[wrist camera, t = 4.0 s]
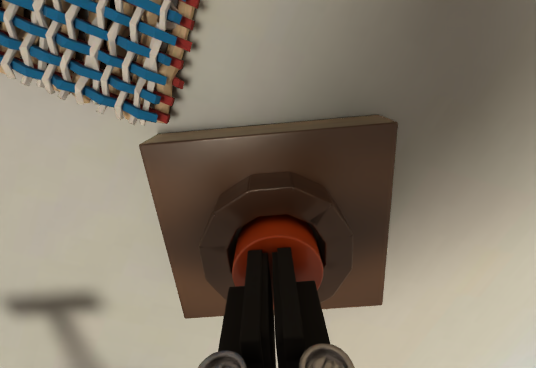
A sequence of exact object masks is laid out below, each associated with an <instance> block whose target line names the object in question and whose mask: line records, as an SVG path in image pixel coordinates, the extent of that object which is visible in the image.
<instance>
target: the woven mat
mask: <svg viewBox="0 0 536 368" xmlns="http://www.w3.org/2000/svg"><path fill="white" fill-rule="evenodd" d="M171 1H172V0H115V7H116V10H114V9H111V8H109V5H110V0H2V8H0V21H1V30H0V72H1V73H4V74H6V75H7V77H8V78H12V79H16V78H15V75H14V73H13V70H12V69H14V70H16V71H17V72H19V73H21V74H23V78H22V80H21V83H22V84H24V85H27V86H29V85H30V83H31V81H32V79H33V78H35V79H37V86H39V87H45V88H46V90H47V92H49V93H50V94H53V93H55V91H54V90H56V91H59V92H60V93H59V94H58V97H59V98H60V99H63V100H65V99H66V98H67V96H68V94H70V92H72V94H73V95H74V96H75V98H76V101H77V104H82V105H84V103H90V100H91V99H92V102H93V103H94V104H100V105H99V107H98V108H97V110H96V111H97V112H99V113H101V114H103V113H104V111H105V109H106V107H107V106H109V107H114V108H115V113H116V117H117V118H118V119H120V120H121V119H123V115H124V117H125V118H126V119H127V120H129V121H128V122H129V123H131V124H133V125H135V123H136V121H137V119H140V124H142V125H145V122H146V120H147V121H151V122H155V123H156V122H160V123H166V124H167V123H168V122H169V119H170V115H168V113H169V108H170V106H172V105H173V103H174V100H175V98H173V97H172V85H173V86H175V87H177V88H180V89H183V85H184V81H182V80H181V79H179V78H177V77H176V76H175V75H176V74H177V72H178V70H179V69H182V68H183V64H184V61H183V60H182V57H183V53H184V50H186V51H189V52H190V49H191V45H192V42H190V41H187V37H188V33H189V29H190V30H193V27H194V23H195V21H193V20H192V18H193V14H194V10H195V8H197V9H198V6H199V2H200V0H178V4H177V8H176V7H175V6H174V5H173V3H172V2H171ZM53 5H54V7H53ZM24 8H26V9H28V10H31V15H30V19H27V18H25V17H24ZM80 8H83V9H86V10H88V11H89V16H88V21H86V20H83V19H81V18H78V16H77V14H78V12H79V10H80ZM169 8H170V9H171V10H169ZM107 18H108V19H110V20H112V23H111V24H110V26H109V27H108V29H106V25H107ZM141 18H142V21H140V19H141ZM52 20H53V21H52ZM166 20H169V21H171V22H166ZM51 21H52V23H51ZM165 29H172V30H171V33H168V32H166V31H165ZM79 30H81V31H83V32H85V33H86V39H85V41H82V40H80V39H78V31H79ZM137 31H139V32H141V33H142V36H141V41H140V43H139V42H138V32H137ZM129 34H130V37H128V35H129ZM104 40H106V41H107V47H108V51H107V50H105V49H103V44H104ZM162 42H165V43H168V47H167V51H166V53H163V52H161V51H159V49H160V47H161V44H162ZM56 43H57V45H56ZM48 46H49V47H48ZM126 50H128V52H126ZM76 52H79V53H83V61H82V62H81V61H79V60H76V59H75V53H76ZM136 54H138V56H137V61H136V62H134V61H132V60H133V58H134V57H135V55H136ZM20 55H21V57H22V58H23V59H20ZM157 61H158V62H160V63H162V64H161V66H160V68H159V70H157ZM101 62H103V63H105V64H107V66H106V68H105V70H102V69H100V63H101ZM47 63H49V64H48V66H47ZM46 67H47V68H46ZM129 71H130V72H132V73H133V74H134V75H133V80H132V81H130V72H129ZM73 72H75V73H74V74H73ZM72 75H73V76H72ZM100 82H101V87H102V88H101V87H100ZM52 84H53V85H52ZM154 87H155V90H156V91H155V90H154ZM128 93H130V95H129V99H126V97H127V95H128ZM150 103H153V104H155V106H154V109H153V108H150V107H149V106H150Z"/></svg>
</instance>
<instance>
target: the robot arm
mask: <svg viewBox="0 0 536 368" xmlns="http://www.w3.org/2000/svg"><path fill="white" fill-rule="evenodd" d="M272 267H273V292H274V310H273V299H272V289H271V280H270V270H269V261H268V253H262V249H261V250H249V251H248V255H247V266H246V276H245V286H235V287H229V290H228V296H227V302H226V308H225V313H224V319H223V325H222V331H221V337H220V343H219V349H218V352H216V353H213V354H211V355H210V356H208V357H207V358H205V360H204V361H203V362H202V363H201V364H200V365H199V367H198V368H276V359H275V337H276V349H277V358H278V368H355V367H354V365H353V363H352V361H351V360H350V358H349V356H348V355H347V354H346V353H345V352H344V351H343V350H342V349H340V348H338V347H336V346H334V345H331V344H330V341H329V337H328V333H327V329H326V325H325V320H324V316H323V312H322V308H321V304H320V300H319V296H318V292H317V287H316V284H315V281H314V280H313V281H300V282H296V278H295V272H294V265H293V258H292V252H291V247H286V248H277V252H272ZM274 316H275V332H274Z"/></svg>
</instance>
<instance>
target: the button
mask: <svg viewBox="0 0 536 368" xmlns="http://www.w3.org/2000/svg"><path fill="white" fill-rule="evenodd" d="M286 247H291V252H292V258H293V265H294V272H295V278H296V282H300V281H313V280H314V281H315V284H316V287H317V290H318V289H319V287H320V285H321V282H322V279H323V272H324V270H323V264H322V260H321V257H320V253H319V250H318V246H317V243H316V239H315V236H314V233H313V231H312V229H311V228H310V226H309V225H308V224H307V223H306V222H305V221H303V220H300V219H298V218H295V217H293V216H291V215H288V214H284V215H271V216H258V217H257V218H255V219H254V220H252V221H250V222H249V223H247V224H246V225H244V227H243V228H242V229H241V231H240V233H239V235H238V239H237V244H236V250H235V255H234V261H233V267H232V278H233V282H234V284H235V286H245V276H246V266H247V255H248V251H249V250H261V249H262V253H268V261H269V270H270V280H271V289H272V299H273V309H274V292H273V267H272V252H277V248H286Z"/></svg>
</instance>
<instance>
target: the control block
mask: <svg viewBox="0 0 536 368" xmlns="http://www.w3.org/2000/svg"><path fill="white" fill-rule="evenodd" d="M397 127H398V123H397V122H396V121H393V120H390V119H388V118H385V117H383V116H380V115H369V116H357V117H346V118H335V119H323V120H312V121H300V122H289V123H278V124H266V125H255V126H244V127H232V128H221V129H210V130H198V131H187V132H176V133H164V134H157V135H155V136H154V137H152V138H150V139H148V140H147V141H145V142H143V143H142V144H140V145H139V147H140V151H141V155H142V159H143V162H144V166H145V170H146V174H147V177H148V181H149V185H150V189H151V193H152V196H153V200H154V204H155V208H156V211H157V215H158V219H159V223H160V227H161V230H162V234H163V238H164V242H165V245H166V249H167V253H168V257H169V260H170V264H171V268H172V272H173V276H174V279H175V283H176V287H177V291H178V294H179V298H180V302H181V306H182V310H183V313H184V317H185V318H200V317H215V316H224V313H225V308H226V302H227V296H228V290H229V287H235V284H234V282H233V278H232V267H233V261H234V255H235V250H236V244H237V239H238V235H239V233H240V231H241V229H242V228H243V227H244V225H246V224H247V223H249V222H250V221H252V220H254V219H255V218H257V217H258V216H271V215H284V214H288V215H291V216H293V217H295V218H298V219H300V220H303V221H305V222H306V223H307V224H308V225H309V226H310V228H311V229H312V231H313V233H314V236H315V239H316V243H317V246H318V250H319V253H320V257H321V260H322V264H323V270H324V272H323V279H322V282H321V285H320V287H319V289H318V290H317V292H318V296H319V300H320V304H321V308H322V309H332V308H346V307H361V306H376V305H382V302H383V290H384V279H385V267H386V255H387V244H388V232H389V220H390V209H391V197H392V186H393V174H394V162H395V151H396V139H397ZM273 310H274V309H273Z"/></svg>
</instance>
